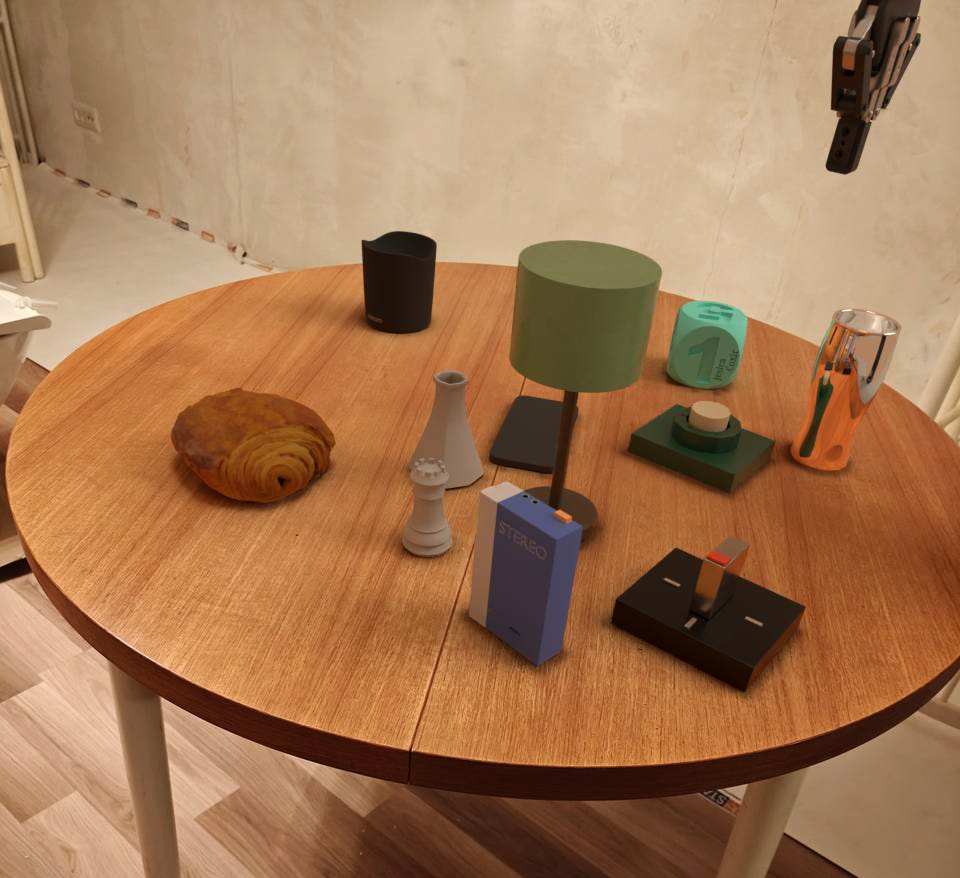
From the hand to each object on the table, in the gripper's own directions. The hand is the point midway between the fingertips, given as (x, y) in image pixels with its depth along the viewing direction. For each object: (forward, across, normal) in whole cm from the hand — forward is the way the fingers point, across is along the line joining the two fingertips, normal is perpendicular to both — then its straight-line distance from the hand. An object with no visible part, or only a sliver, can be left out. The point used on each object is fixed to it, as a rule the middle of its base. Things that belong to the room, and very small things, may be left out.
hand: (840, 171), depth 73 cm
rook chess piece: (+29, -32, +16) cm, 46 cm away
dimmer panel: (+29, -25, -8) cm, 39 cm away
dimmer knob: (+26, -25, -8) cm, 37 cm away
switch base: (+29, +1, +6) cm, 30 cm away
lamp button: (+25, +1, +6) cm, 26 cm away
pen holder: (+29, +4, +53) cm, 60 cm away
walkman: (+29, -36, +3) cm, 47 cm away
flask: (+29, -21, +23) cm, 43 cm away
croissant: (+29, -34, +37) cm, 58 cm away
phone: (+29, -8, +21) cm, 37 cm away
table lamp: (+29, -21, +10) cm, 37 cm away
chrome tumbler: (+29, +10, -4) cm, 31 cm away
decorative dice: (+29, +20, +16) cm, 39 cm away
